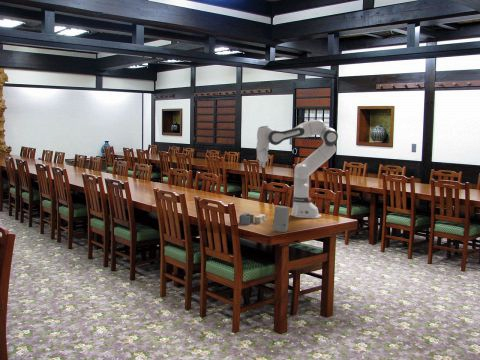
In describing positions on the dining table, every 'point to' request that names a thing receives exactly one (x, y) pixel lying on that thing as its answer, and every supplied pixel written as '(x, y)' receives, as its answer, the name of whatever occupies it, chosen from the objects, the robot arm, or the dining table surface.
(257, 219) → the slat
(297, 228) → the dining table surface
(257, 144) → the robot arm
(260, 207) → the dining table surface
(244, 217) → the end cap
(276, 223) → the skincare box
